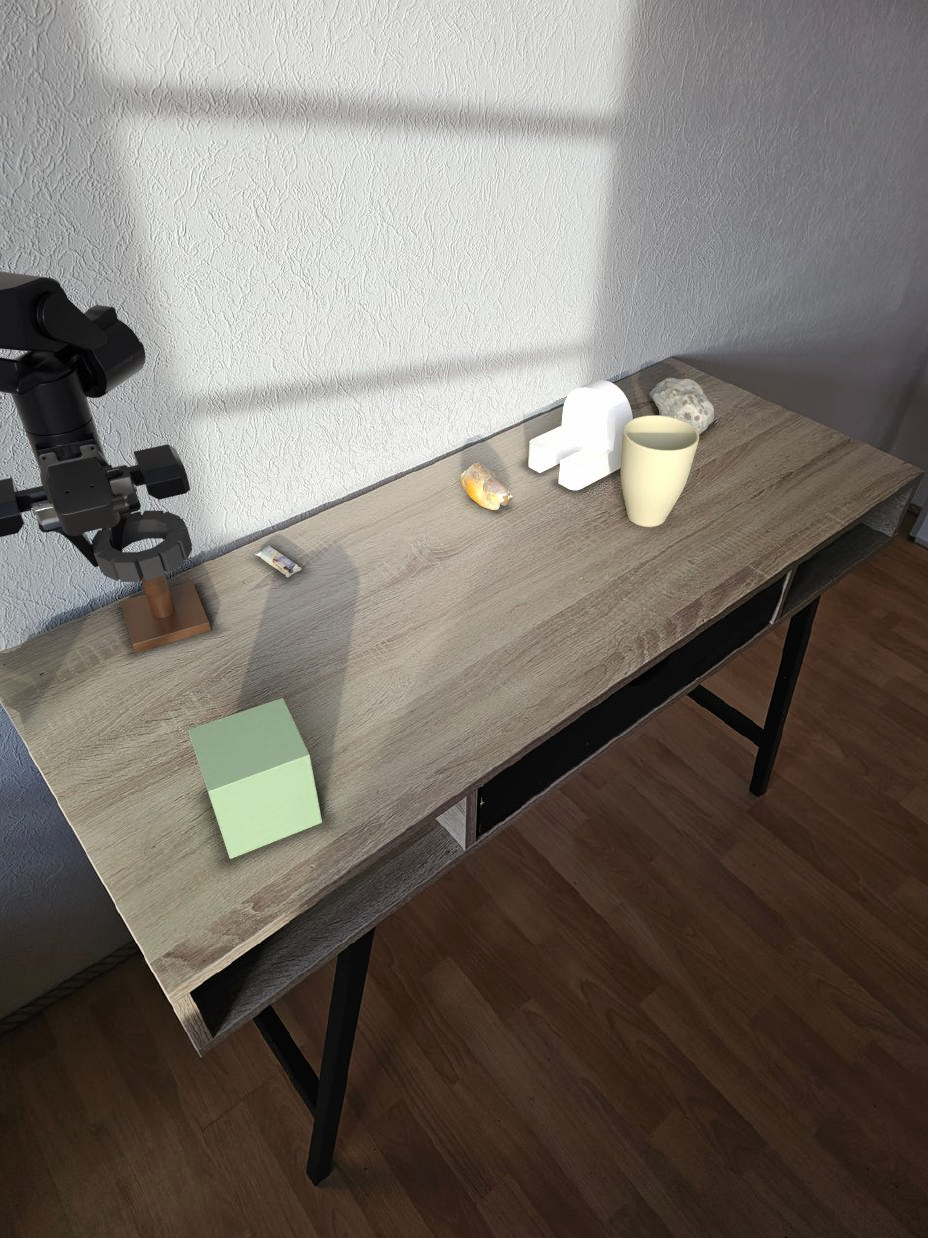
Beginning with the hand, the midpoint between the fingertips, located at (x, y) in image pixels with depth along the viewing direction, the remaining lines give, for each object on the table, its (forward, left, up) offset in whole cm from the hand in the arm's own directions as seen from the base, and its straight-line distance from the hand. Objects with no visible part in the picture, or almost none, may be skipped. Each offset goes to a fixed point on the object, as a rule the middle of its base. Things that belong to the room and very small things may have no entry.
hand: (107, 561), depth 83 cm
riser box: (+6, -29, -9) cm, 31 cm away
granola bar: (+18, +4, -9) cm, 20 cm away
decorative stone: (+85, +13, -9) cm, 86 cm away
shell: (+47, +5, -9) cm, 48 cm away
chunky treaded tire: (+4, 0, 0) cm, 4 cm away
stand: (+4, 0, -9) cm, 10 cm away
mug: (+64, -6, -9) cm, 65 cm away
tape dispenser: (+66, +9, -9) cm, 67 cm away
